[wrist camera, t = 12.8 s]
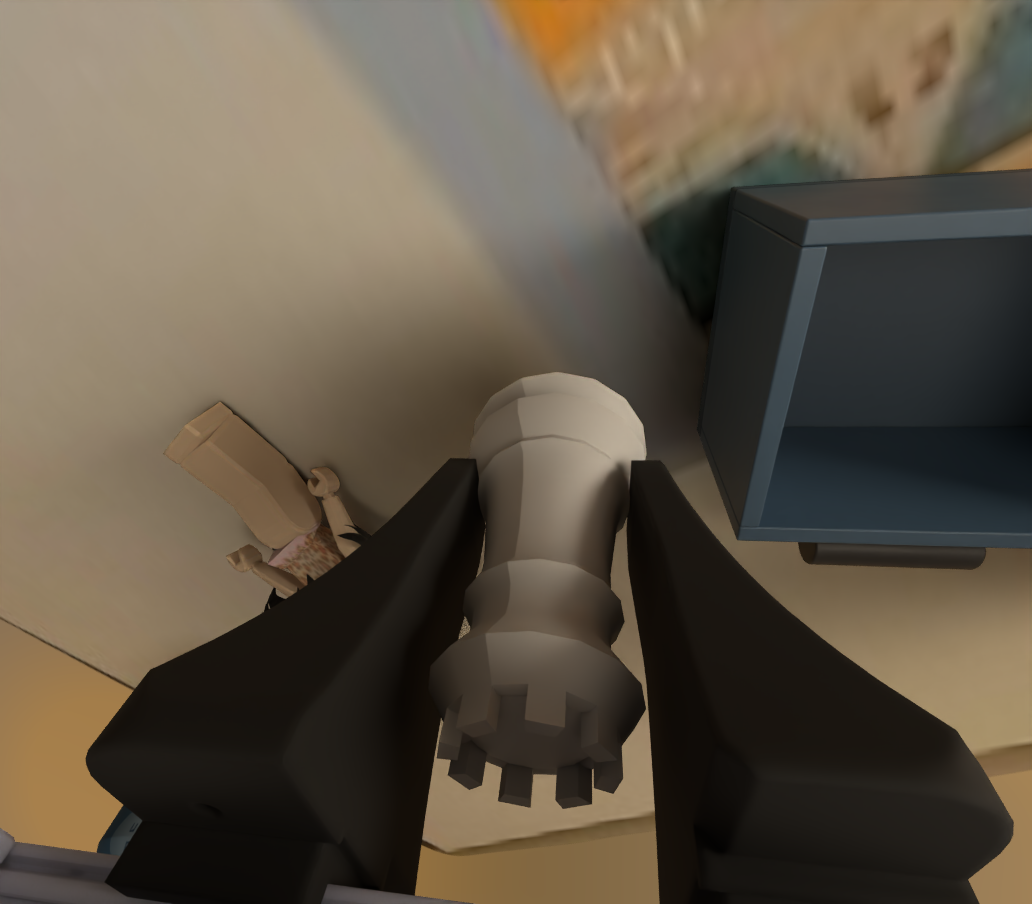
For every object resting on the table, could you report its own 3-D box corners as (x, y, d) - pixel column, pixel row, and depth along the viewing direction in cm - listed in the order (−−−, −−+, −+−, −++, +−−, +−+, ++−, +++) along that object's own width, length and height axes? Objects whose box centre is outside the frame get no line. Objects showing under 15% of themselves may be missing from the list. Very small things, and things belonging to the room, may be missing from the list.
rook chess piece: (444, 398, 13) (298, 699, 6) (611, 335, 12) (640, 644, 5) (517, 521, 15) (462, 840, 9) (666, 481, 14) (735, 830, 7)
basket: (1181, 159, 13) (1557, 180, 8) (995, 498, 19) (1144, 633, 14) (730, 187, 14) (806, 219, 9) (687, 493, 20) (720, 613, 15)
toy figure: (170, 472, 24) (408, 642, 29) (57, 558, 19) (373, 752, 23) (249, 375, 22) (496, 579, 26) (144, 442, 16) (482, 686, 21)
